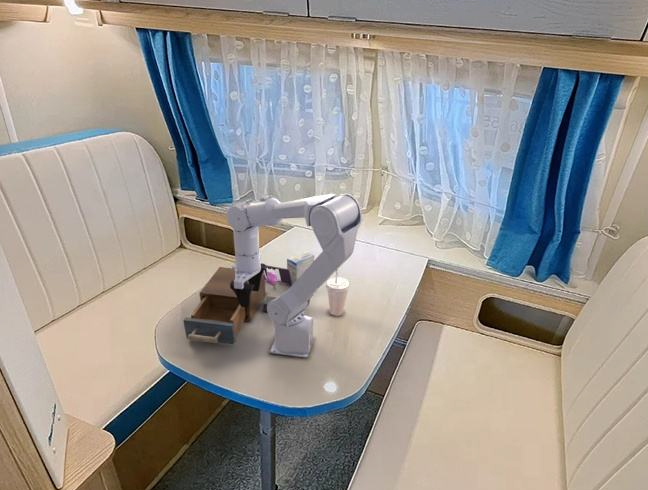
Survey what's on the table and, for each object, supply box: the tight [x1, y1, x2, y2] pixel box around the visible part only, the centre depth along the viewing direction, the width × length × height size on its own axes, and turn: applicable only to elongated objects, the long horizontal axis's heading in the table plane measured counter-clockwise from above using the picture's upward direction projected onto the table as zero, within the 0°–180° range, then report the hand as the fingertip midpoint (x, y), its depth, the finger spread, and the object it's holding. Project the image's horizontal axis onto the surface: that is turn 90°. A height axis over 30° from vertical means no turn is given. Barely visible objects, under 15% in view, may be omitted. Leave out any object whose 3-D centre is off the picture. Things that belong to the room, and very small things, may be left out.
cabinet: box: [199, 266, 266, 323], centre depth 121 cm, size 15×14×8 cm
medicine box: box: [286, 250, 315, 286], centre depth 134 cm, size 8×4×9 cm, turn 141°
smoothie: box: [326, 268, 351, 317], centre depth 119 cm, size 6×6×14 cm
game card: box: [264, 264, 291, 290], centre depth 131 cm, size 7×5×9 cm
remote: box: [262, 295, 278, 313], centre depth 121 cm, size 4×8×3 cm, turn 82°
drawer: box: [183, 296, 247, 346], centre depth 110 cm, size 18×12×6 cm
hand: (250, 298), depth 110 cm, fingers open, 7 cm apart
